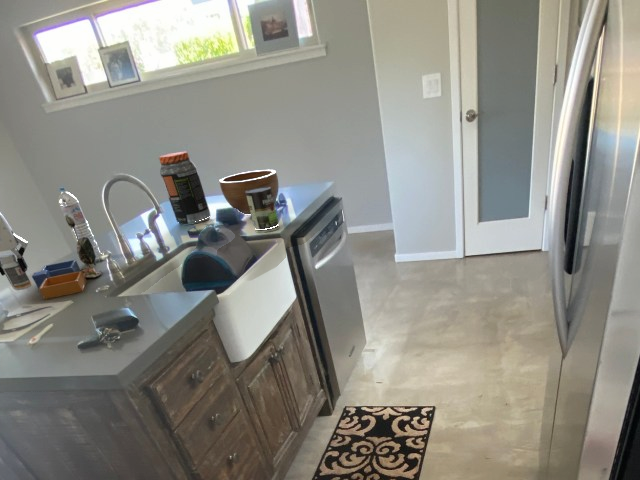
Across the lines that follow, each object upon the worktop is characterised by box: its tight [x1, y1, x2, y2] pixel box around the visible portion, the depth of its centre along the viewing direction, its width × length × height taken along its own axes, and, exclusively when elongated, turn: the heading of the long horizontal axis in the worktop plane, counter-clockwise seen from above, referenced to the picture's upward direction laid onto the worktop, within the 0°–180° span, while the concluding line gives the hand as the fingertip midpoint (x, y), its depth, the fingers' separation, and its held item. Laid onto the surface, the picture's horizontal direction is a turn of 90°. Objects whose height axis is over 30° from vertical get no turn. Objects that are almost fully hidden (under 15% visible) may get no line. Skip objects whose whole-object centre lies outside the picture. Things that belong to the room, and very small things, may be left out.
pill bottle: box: [0, 252, 32, 291], centre depth 166 cm, size 6×6×10 cm
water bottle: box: [57, 186, 102, 263], centre depth 196 cm, size 7×7×25 cm
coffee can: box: [245, 187, 280, 234], centre depth 206 cm, size 10×10×14 cm
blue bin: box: [40, 259, 81, 277], centre depth 190 cm, size 11×11×4 cm
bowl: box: [219, 169, 280, 215], centre depth 228 cm, size 25×25×15 cm
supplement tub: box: [158, 151, 211, 226], centre depth 230 cm, size 16×16×26 cm
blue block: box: [31, 270, 51, 290], centre depth 182 cm, size 5×5×5 cm
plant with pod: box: [64, 215, 103, 278], centre depth 181 cm, size 8×11×20 cm
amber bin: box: [38, 270, 87, 300], centre depth 176 cm, size 12×12×4 cm
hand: (14, 271), depth 166 cm, fingers closed on pill bottle, 5 cm apart
